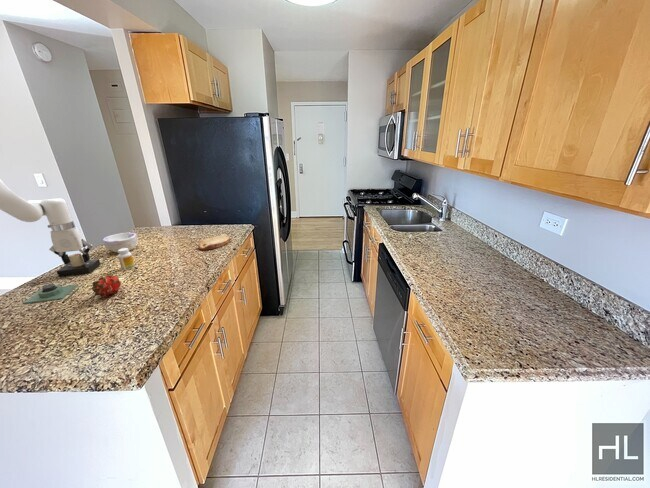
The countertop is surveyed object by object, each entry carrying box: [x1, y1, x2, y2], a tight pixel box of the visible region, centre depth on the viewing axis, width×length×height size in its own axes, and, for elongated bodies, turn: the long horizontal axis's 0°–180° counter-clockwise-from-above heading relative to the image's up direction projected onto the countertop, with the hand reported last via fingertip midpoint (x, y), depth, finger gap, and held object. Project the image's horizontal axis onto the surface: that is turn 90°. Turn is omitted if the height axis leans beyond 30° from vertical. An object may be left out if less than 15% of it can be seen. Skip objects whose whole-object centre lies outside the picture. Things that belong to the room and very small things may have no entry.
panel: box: [56, 258, 102, 278], centre depth 123 cm, size 12×10×3 cm
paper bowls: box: [102, 232, 139, 254], centre depth 146 cm, size 15×15×8 cm
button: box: [41, 283, 56, 292], centre depth 101 cm, size 4×4×2 cm
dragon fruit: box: [91, 274, 122, 298], centre depth 104 cm, size 8×8×12 cm
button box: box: [22, 284, 80, 305], centre depth 102 cm, size 12×10×4 cm
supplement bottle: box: [117, 248, 136, 271], centre depth 125 cm, size 5×5×10 cm
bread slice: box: [197, 234, 232, 251], centre depth 155 cm, size 18×18×4 cm
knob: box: [68, 252, 85, 267], centre depth 122 cm, size 4×4×5 cm
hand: (77, 262), depth 122 cm, fingers open, 7 cm apart
